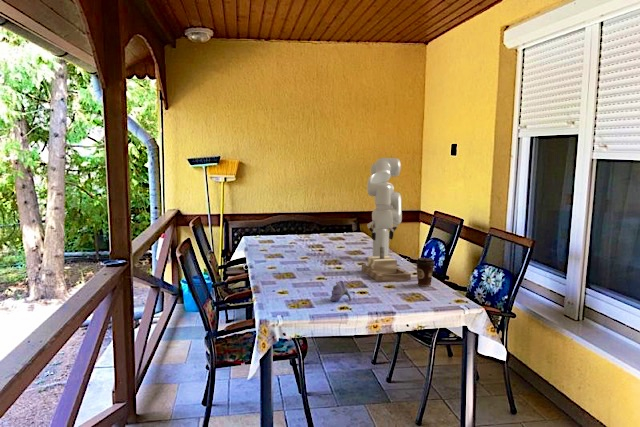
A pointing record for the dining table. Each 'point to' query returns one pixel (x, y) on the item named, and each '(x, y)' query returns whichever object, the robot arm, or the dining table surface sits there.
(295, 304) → the dining table surface
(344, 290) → the grey arched piece
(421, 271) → the coffee cup
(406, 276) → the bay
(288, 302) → the dining table surface
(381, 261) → the square knob plate
